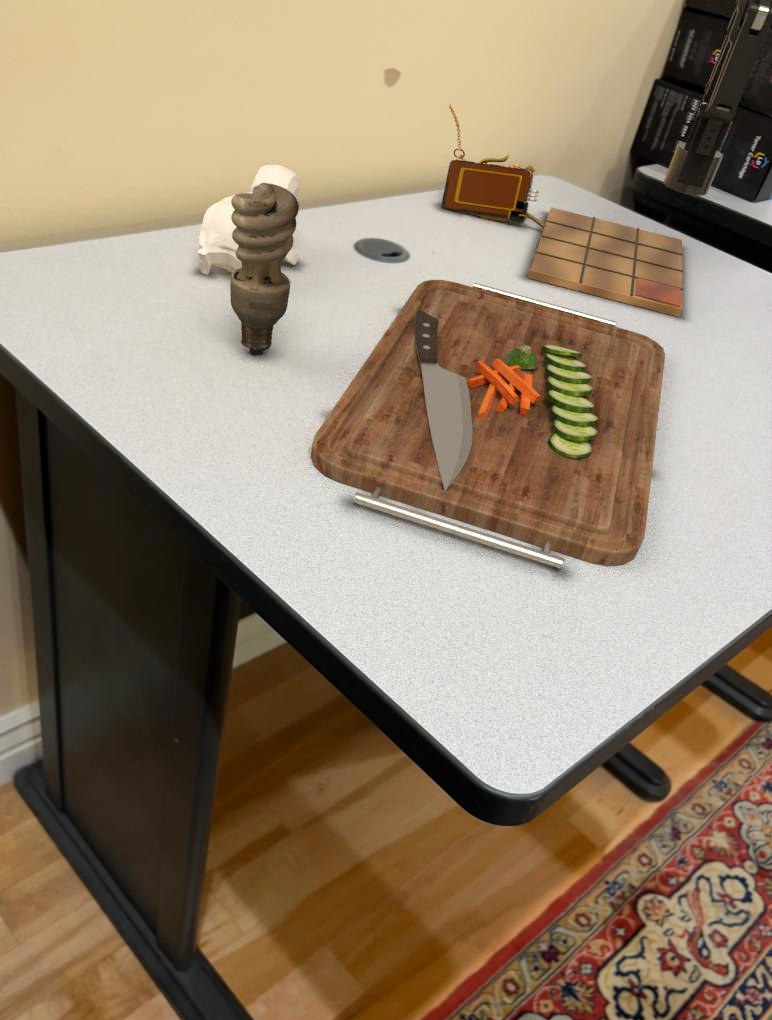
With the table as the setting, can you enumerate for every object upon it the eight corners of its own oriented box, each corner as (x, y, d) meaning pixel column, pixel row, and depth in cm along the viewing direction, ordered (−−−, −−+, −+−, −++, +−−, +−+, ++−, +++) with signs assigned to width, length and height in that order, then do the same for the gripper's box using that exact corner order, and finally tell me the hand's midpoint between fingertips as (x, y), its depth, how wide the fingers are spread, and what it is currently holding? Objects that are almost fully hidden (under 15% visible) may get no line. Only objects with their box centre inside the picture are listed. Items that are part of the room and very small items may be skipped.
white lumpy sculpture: (265, 315, 95) (321, 224, 101) (259, 251, 87) (320, 157, 93) (193, 292, 96) (254, 204, 102) (182, 228, 89) (247, 137, 95)
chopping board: (632, 597, 64) (649, 565, 62) (287, 486, 68) (291, 452, 66) (662, 343, 96) (674, 316, 94) (427, 278, 100) (433, 251, 98)
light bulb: (234, 369, 80) (247, 197, 69) (213, 340, 83) (222, 172, 73) (291, 363, 82) (312, 196, 72) (268, 335, 85) (285, 171, 75)
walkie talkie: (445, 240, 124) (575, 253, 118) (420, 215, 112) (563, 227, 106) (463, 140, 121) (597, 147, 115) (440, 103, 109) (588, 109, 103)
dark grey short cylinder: (707, 187, 102) (723, 149, 99) (707, 199, 98) (723, 161, 95) (664, 176, 102) (678, 139, 100) (662, 188, 99) (677, 149, 96)
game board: (679, 246, 120) (682, 238, 119) (679, 317, 102) (684, 307, 101) (548, 214, 122) (551, 205, 121) (527, 278, 104) (530, 268, 104)
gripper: (747, -96, 91) (657, 148, 106) (757, -83, 78) (653, 192, 93) (822, -81, 90) (720, 162, 105) (845, -66, 77) (725, 209, 92)
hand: (689, 176), depth 99 cm, fingers closed on dark grey short cylinder, 5 cm apart
